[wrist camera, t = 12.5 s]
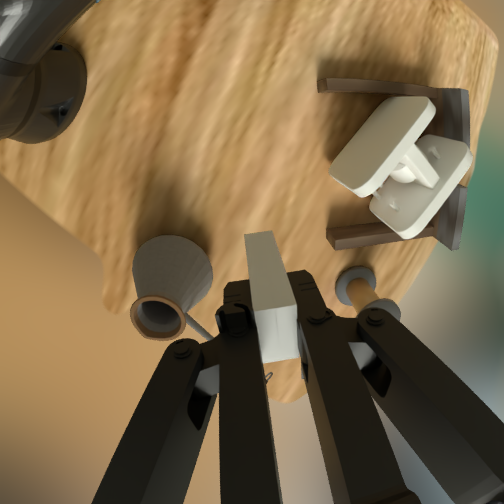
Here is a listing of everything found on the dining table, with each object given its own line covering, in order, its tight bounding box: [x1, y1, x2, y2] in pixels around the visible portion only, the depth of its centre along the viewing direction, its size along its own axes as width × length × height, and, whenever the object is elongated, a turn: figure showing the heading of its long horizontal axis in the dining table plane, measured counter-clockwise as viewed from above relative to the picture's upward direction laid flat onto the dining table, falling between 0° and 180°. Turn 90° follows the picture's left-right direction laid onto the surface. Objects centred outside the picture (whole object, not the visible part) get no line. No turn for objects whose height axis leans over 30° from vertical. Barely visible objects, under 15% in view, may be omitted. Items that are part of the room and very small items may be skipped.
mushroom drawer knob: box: [335, 266, 401, 321], centre depth 41 cm, size 7×7×10 cm
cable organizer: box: [328, 96, 473, 239], centre depth 31 cm, size 15×11×12 cm
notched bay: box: [317, 78, 470, 251], centre depth 32 cm, size 22×18×9 cm
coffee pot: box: [130, 235, 273, 384], centre depth 36 cm, size 21×12×15 cm, turn 53°
